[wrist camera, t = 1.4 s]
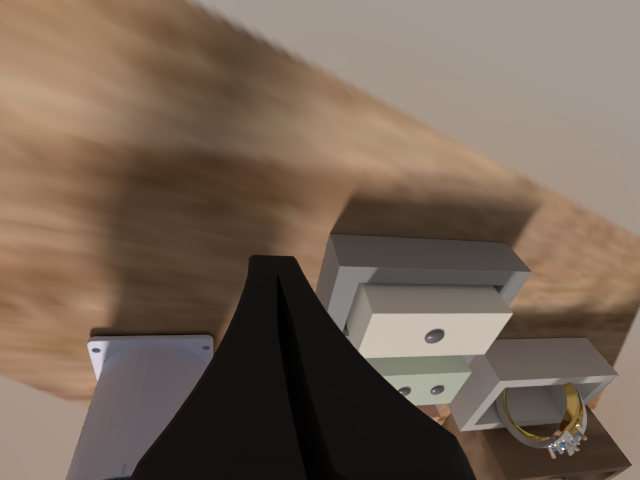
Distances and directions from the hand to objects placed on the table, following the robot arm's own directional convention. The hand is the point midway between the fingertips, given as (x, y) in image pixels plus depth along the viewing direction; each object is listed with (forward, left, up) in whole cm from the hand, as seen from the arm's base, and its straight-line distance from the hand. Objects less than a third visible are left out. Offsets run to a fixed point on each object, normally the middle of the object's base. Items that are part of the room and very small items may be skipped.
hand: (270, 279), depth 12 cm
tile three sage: (-14, -11, -7) cm, 20 cm away
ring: (-19, -26, -9) cm, 34 cm away
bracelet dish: (-19, -26, -9) cm, 34 cm away
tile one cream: (-8, -11, -7) cm, 16 cm away
